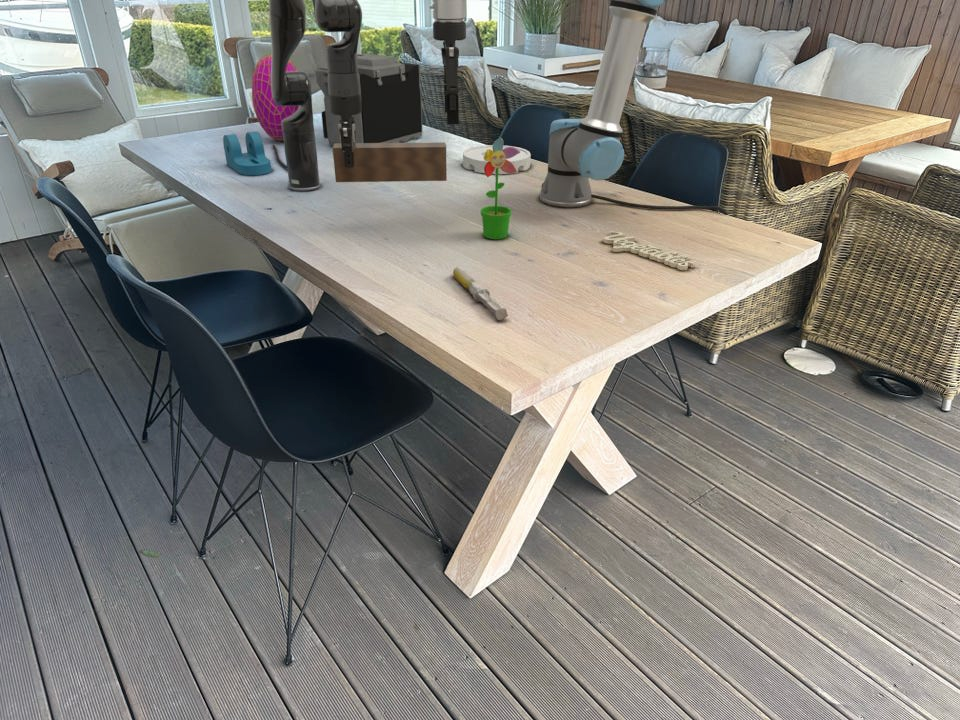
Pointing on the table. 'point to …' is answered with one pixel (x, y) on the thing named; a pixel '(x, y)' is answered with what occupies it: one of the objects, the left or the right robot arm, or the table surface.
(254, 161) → the camera mount
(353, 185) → the table surface
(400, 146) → the bar
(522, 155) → the ashtray
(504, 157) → the potted flower
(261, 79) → the decorative egg
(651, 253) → the decorative sign
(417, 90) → the cooler box
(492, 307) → the syringe
